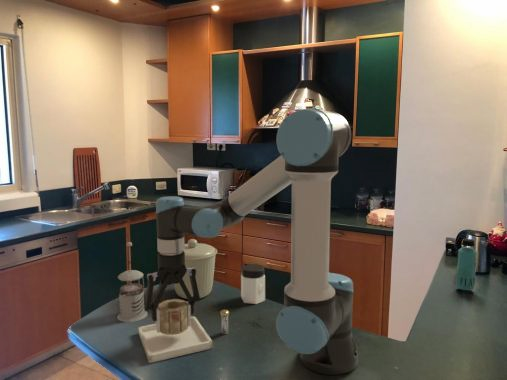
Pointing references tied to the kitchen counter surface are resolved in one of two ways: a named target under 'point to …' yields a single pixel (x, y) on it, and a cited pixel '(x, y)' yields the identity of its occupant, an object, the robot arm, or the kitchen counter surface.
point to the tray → (174, 341)
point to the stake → (224, 321)
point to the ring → (173, 316)
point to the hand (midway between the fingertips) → (173, 327)
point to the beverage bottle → (466, 266)
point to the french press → (131, 296)
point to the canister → (198, 268)
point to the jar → (253, 284)
